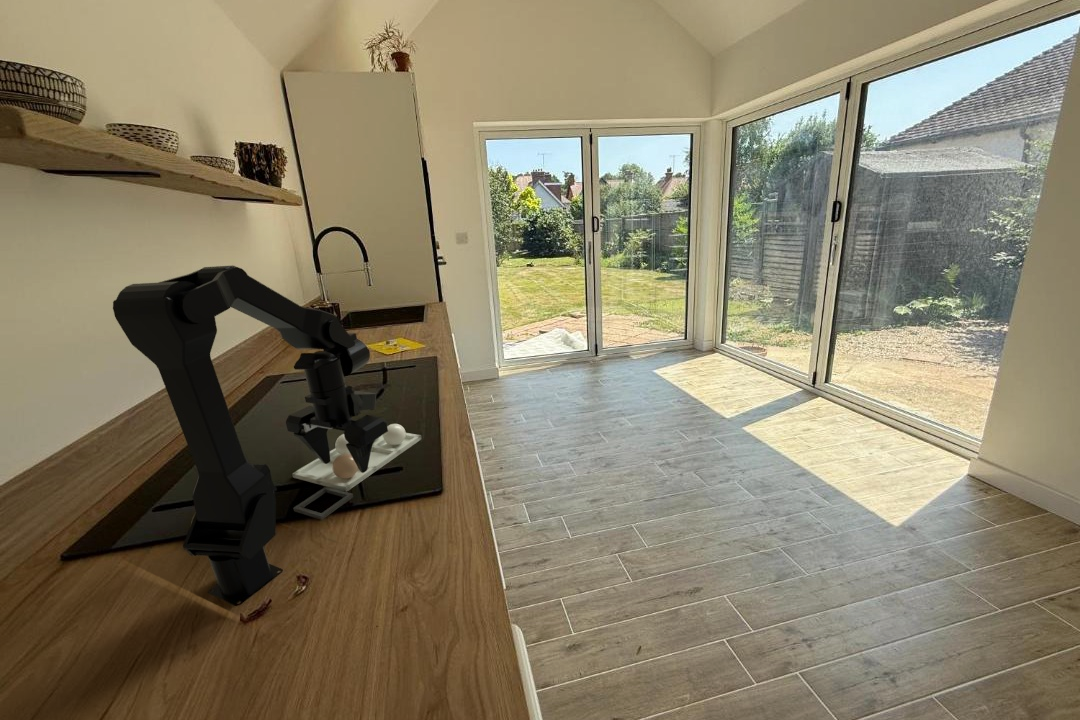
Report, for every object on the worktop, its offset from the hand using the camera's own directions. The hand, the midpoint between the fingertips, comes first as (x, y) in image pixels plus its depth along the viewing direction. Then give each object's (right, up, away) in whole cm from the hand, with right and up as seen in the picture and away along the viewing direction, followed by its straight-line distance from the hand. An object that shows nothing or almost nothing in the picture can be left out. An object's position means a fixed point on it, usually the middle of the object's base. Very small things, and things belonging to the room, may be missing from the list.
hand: (345, 467), depth 83 cm
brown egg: (0, -2, +1) cm, 2 cm away
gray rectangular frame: (-1, -5, -7) cm, 9 cm away
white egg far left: (+6, +2, +12) cm, 13 cm away
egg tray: (0, -1, +8) cm, 8 cm away
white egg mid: (-3, 0, +9) cm, 9 cm away
